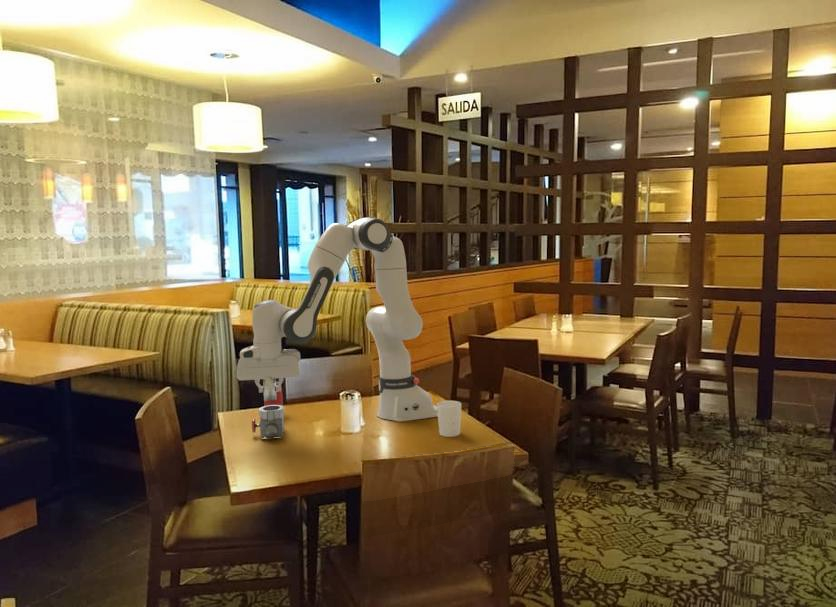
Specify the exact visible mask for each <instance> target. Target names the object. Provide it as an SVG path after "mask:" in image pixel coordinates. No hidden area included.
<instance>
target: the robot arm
mask: <svg viewBox="0 0 836 607" xmlns="http://www.w3.org/2000/svg"><path fill="white" fill-rule="evenodd" d="M352 250H362V251H370V252H372V255H373V258H374V274H375V276H374V277H375V290H376V293H377V294H378V295H379V296H380V298H381V301H382V303H383V305H381V306H380V305H379V306H376V307H372V308H371V309H370V310H369V311H368V312H367V313H366V316H365V325H366V327H367V329H368V330H369V331H370V333H371V335H372V337H373V339H374V342H375V343H374V344H375V346H376V349H377V354H378V359H379V360H378V361H379V362H378V364H379V377H378V391H379V401H378V402H379V404H378V409H377V414H376V415H377V417H378V418H381V419H383V420H389V421H395V422H399V423H401V422H409V421H414V420H422V419H429V418H436V417H437V418H438V413H437V405H435V404H434V402H433V398H432V396H431V394H429V392H427V391H426V390H425V389H424V388H422V387H420V386H419V385H418V384H419V383H420V379H419V378H418V377H416V376H415V375H413V374H412V372H411V369H412V368H411V354H410V352H409V350H408V349H407V348H406V345H405V344H404V342H403V341H407V340H414V339H416V338H417V337H418V336H419V335H420V334H421V333H422V331H423V325H424V322H423V318H422V317H421V315H420V313H419V312H418V311H417V310H416V308H415V306H414V304H413V301H412V299H411V298H412V297H411V296H410V292H409V288H408V287H409V286H408V273H407V270H408V269H407V259H406V258H407V257H406V253H405V248H404V244H403V242H402V240H401V239H400V238H399V237H396V236H393V235H392V233H391V231H390V229H389V227H388V225H387V223H386V222H385V221H384V220H382V219H380V218H378V217H362V218H357V219H354V220H352V221H351V222H349V223H347V224H345V223H344V224H343V223H340V222H333V223H331V224H329V225H328V226H327V227H326V229H325V230H324V231H323V233H322V234H321V236H320V237H319V239H318V241H316V244H315V245H314V247H313V249H312V252H311V254H310V256H309V260H308V262H307V269H308V272H309V276H310V277H309V278H310V279H309V280H310V281H309V285H308V288H307V290H306V292H305V295H304V296H303V299H302V300H301V302H300V305H299V307H298V308H294V307H289V306H287V305H284V304H282V303H280V302H278V301H277V300H275V299H269V300H263V301H260V302H257V303H255V305H254V306H253V309H252V315H251V317H252V318H251V323H252V324H251V326H252V331H253V341H252V342H253V345H250V346H247V347H245V348H242V349H241V350H240V352H239V360H238V362H237V366H236V378H237V380H238V381H251V380H252V381H253V380H254V383H255V385H256V387H257V388H258V393H259V394H260V393H261V394H262V393H264V389H263V385H261V383H260V380H263V379H265V378H266V377H272V378H275V379H278V381H279V382H280V383H279V385H276V392H278V391H281V387H280V386H282V384H283V383H284V379H285V378H287V379H288V378H298V377H299V376H300V375H301V368H300V360H301V352H300V351H299V349H296V348H289V349H288V348H287V349H286V348H285V349H284V348H283V349H282V338H284V337H285V338H287V340H289V341H290V342H292V343H293V344H298V345H301V344H305V343H307V342H309V341H311V340H312V339H313V337H314V336H315V334H316V331H317V322H318V316H319V314H320V311H321V309H322V307H323V305H324V302H325V301H326V298H327V296H328V294H329V291H330V289H331V287H332V285H333V283H334V281H335V280H336V278H337V276H338V274H339V272H340V271H341V269H342V267H343V265H344V264H345V261H346V259H347V257H348V255H349V254H350V252H352Z"/></svg>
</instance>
